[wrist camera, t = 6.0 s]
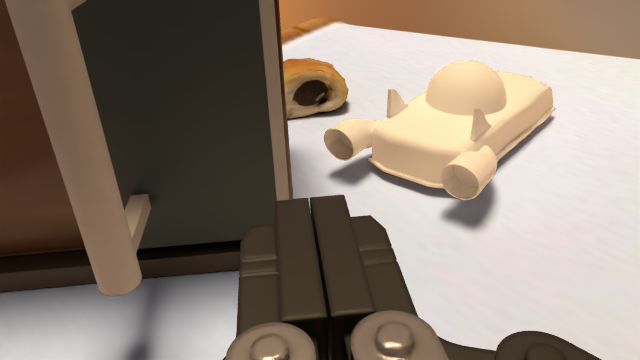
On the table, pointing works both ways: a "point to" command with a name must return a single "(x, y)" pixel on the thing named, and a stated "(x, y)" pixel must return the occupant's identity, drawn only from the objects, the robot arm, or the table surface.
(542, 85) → the plane toy
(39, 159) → the cupboard
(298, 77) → the pastry
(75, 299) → the table surface
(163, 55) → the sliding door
